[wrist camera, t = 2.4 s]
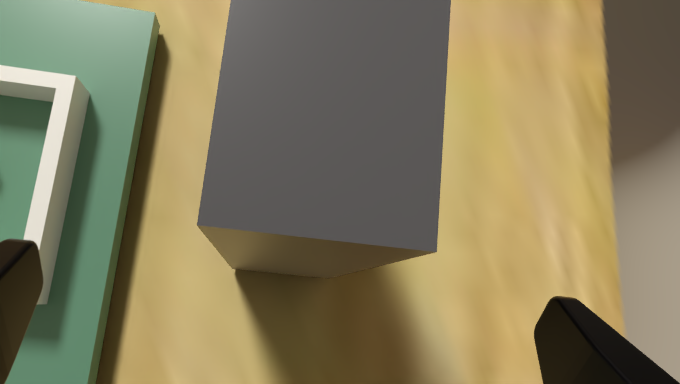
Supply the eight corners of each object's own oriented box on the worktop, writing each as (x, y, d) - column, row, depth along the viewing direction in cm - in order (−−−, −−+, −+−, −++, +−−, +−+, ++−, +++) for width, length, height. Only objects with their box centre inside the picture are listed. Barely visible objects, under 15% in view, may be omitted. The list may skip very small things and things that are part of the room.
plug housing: (328, 278, 20) (436, 251, 8) (232, 268, 19) (196, 225, 7) (341, 148, 21) (453, -45, 9) (250, 135, 20) (244, -85, 8)
